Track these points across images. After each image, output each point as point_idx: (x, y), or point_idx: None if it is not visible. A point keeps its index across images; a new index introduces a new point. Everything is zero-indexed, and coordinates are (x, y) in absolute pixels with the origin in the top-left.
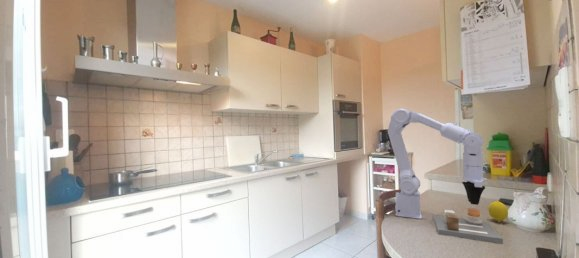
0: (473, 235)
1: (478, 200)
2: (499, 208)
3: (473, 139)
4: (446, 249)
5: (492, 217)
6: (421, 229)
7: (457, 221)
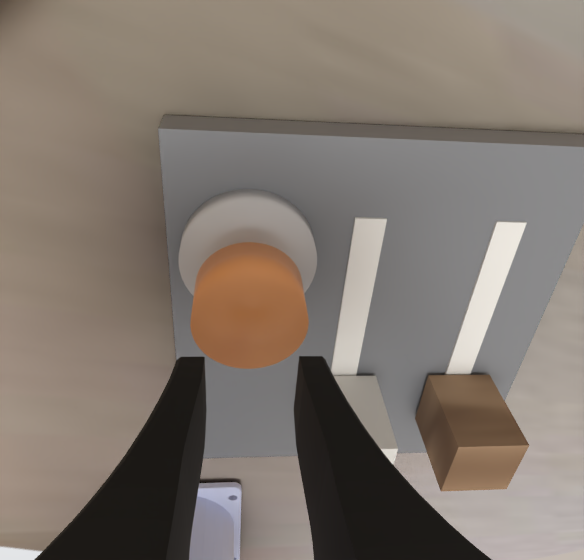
0: (540, 306)
1: (341, 400)
2: None
3: None
4: None
5: None
6: (416, 480)
7: (516, 428)
